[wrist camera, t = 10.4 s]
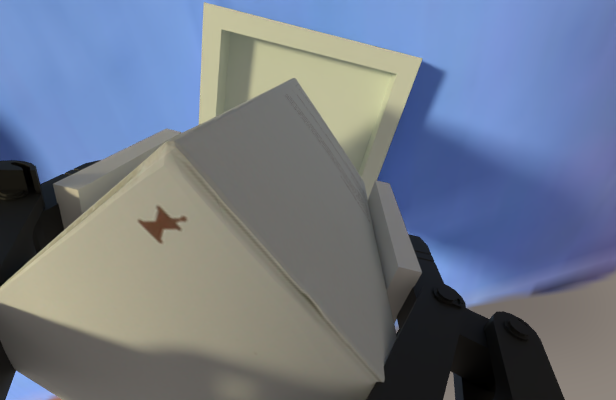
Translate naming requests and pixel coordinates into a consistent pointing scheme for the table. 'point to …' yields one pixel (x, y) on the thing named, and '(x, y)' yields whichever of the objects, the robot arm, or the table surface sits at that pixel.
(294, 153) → the supplement box
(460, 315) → the robot arm
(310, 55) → the tray
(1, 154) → the table surface
